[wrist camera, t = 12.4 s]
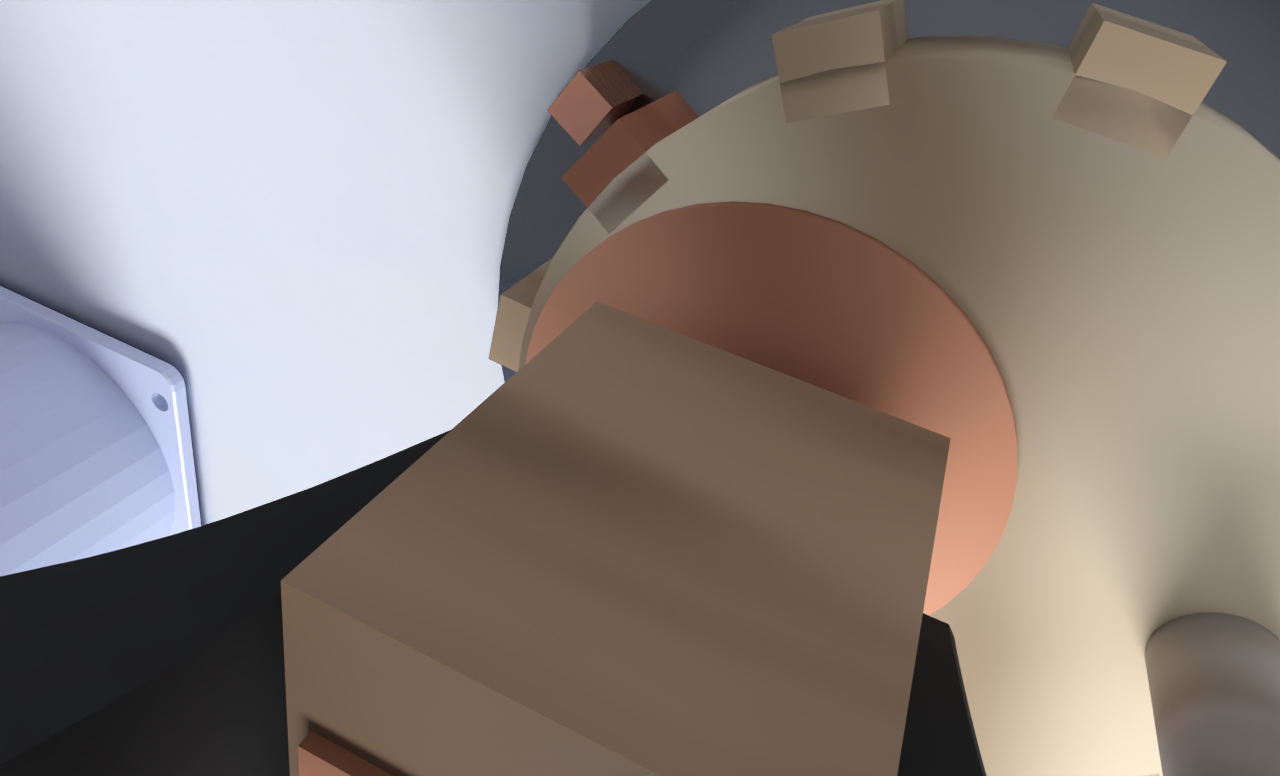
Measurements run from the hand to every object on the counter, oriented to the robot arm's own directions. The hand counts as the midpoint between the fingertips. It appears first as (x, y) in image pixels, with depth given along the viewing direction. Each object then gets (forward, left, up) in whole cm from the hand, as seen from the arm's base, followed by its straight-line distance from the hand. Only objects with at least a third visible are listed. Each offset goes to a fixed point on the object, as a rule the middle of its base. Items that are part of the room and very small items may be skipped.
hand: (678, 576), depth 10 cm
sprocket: (0, -2, -6) cm, 6 cm away
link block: (0, 0, -2) cm, 2 cm away
